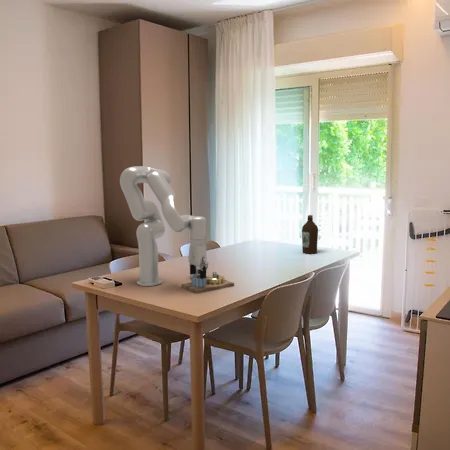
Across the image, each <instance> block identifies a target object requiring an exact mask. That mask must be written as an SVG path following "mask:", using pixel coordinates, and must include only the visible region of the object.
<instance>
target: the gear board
mask: <svg viewBox="0 0 450 450" xmlns="http://www.w3.org/2000/svg"><path fill="white" fill-rule="evenodd" d="M197 278H200V275H197ZM181 287H182V288H183V289H185V290H187V291H190V292H192V293H194V294H200V293H201V294H202V293H205V292H210V291H216V290H221V289H227V288H232V287H235V282H232V281H230V280H227V279H225V282H224V283H223V284H220V285H219V284H217V285H209V284H207V285H206V286H205V287H193V286H192V281H191V282H185V283H182V284H181ZM226 287H227V288H226Z"/></svg>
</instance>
